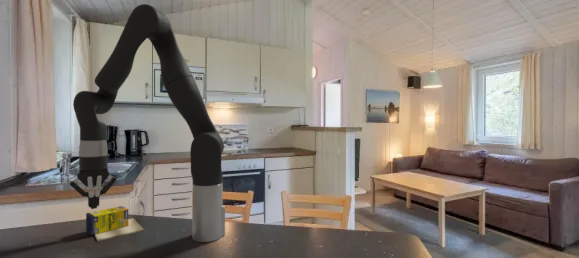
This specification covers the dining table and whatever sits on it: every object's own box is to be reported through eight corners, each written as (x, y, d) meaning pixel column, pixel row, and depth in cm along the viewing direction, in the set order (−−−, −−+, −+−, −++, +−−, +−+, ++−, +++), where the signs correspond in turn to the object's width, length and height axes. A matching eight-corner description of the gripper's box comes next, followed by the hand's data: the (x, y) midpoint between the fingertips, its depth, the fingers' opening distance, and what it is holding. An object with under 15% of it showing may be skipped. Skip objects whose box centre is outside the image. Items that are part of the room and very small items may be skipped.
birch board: (133, 219, 106) (133, 218, 106) (144, 230, 95) (144, 229, 95) (90, 228, 97) (90, 226, 97) (97, 241, 86) (97, 239, 86)
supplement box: (91, 216, 89) (128, 208, 98) (85, 213, 93) (121, 205, 101) (92, 235, 89) (129, 225, 98) (85, 231, 93) (121, 222, 102)
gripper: (68, 157, 84) (68, 215, 84) (119, 154, 93) (119, 207, 93) (66, 154, 89) (66, 209, 90) (115, 152, 98) (115, 201, 99)
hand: (93, 208), depth 91 cm, fingers closed
